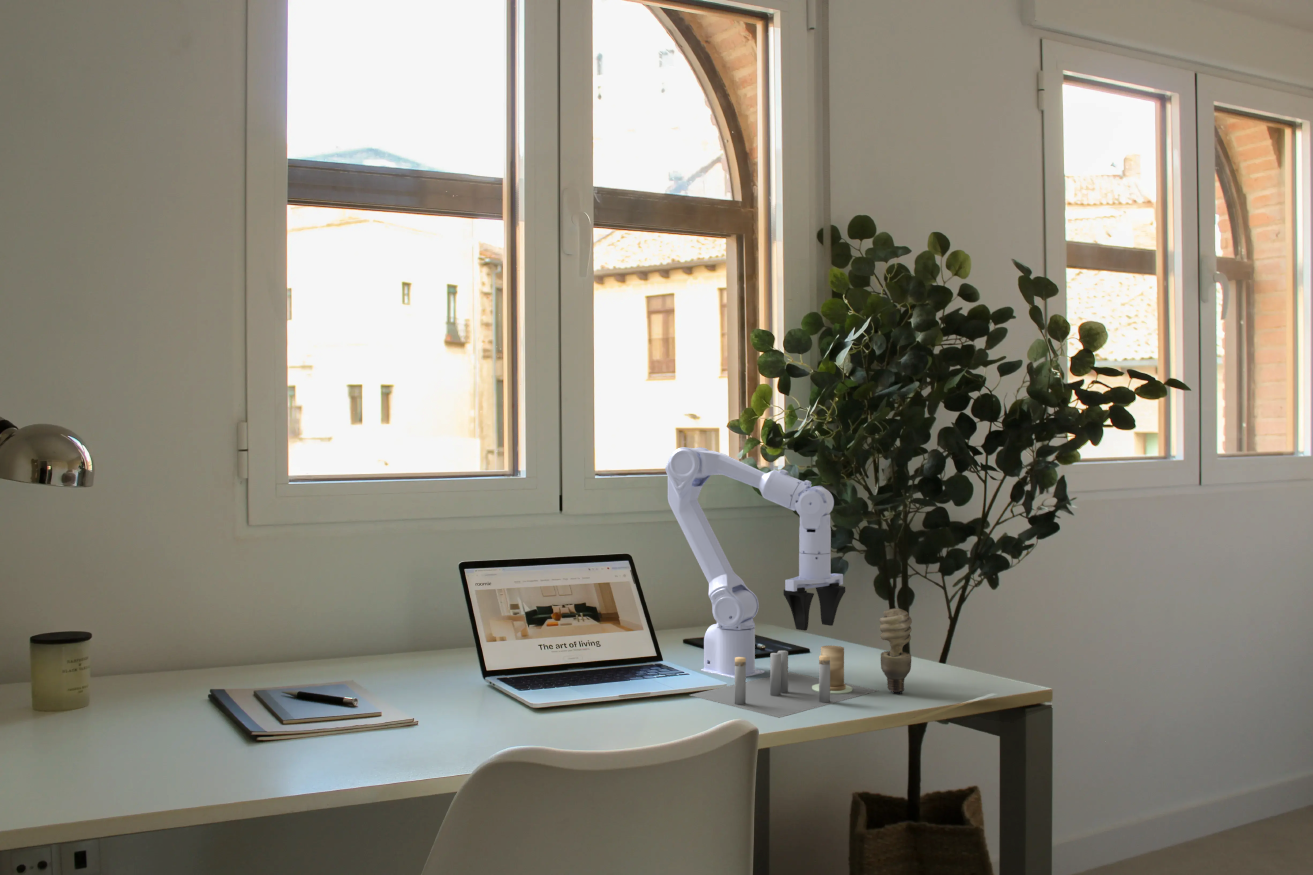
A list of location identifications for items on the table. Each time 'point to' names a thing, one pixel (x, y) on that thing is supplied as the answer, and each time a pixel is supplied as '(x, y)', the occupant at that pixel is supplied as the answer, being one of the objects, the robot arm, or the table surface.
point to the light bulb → (896, 648)
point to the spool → (835, 666)
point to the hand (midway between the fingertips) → (814, 627)
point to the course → (780, 689)
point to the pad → (847, 690)
